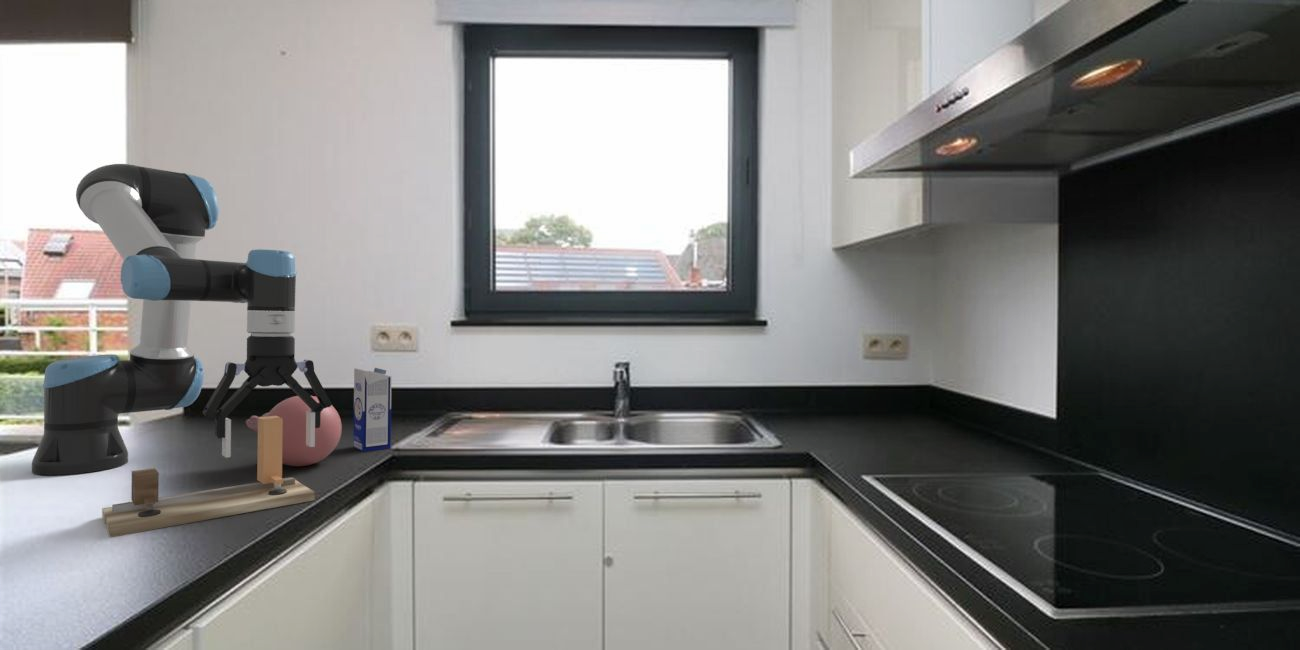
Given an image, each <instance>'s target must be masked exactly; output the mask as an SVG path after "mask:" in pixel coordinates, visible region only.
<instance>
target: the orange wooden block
mask: <svg viewBox="0 0 1300 650" xmlns="http://www.w3.org/2000/svg"><path fill="white" fill-rule="evenodd" d="M257 417H258V432H257V463H256V464H257V467H256V468H257V470H256V471H257V473H256V480H257V481H259V482H261V483H262V484H267V483H274V489H275V490H278V489H281V484H283V479H284V478H283V463H282V432H283V418H280V417H278V416H268V417H261V416H257Z"/></svg>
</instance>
